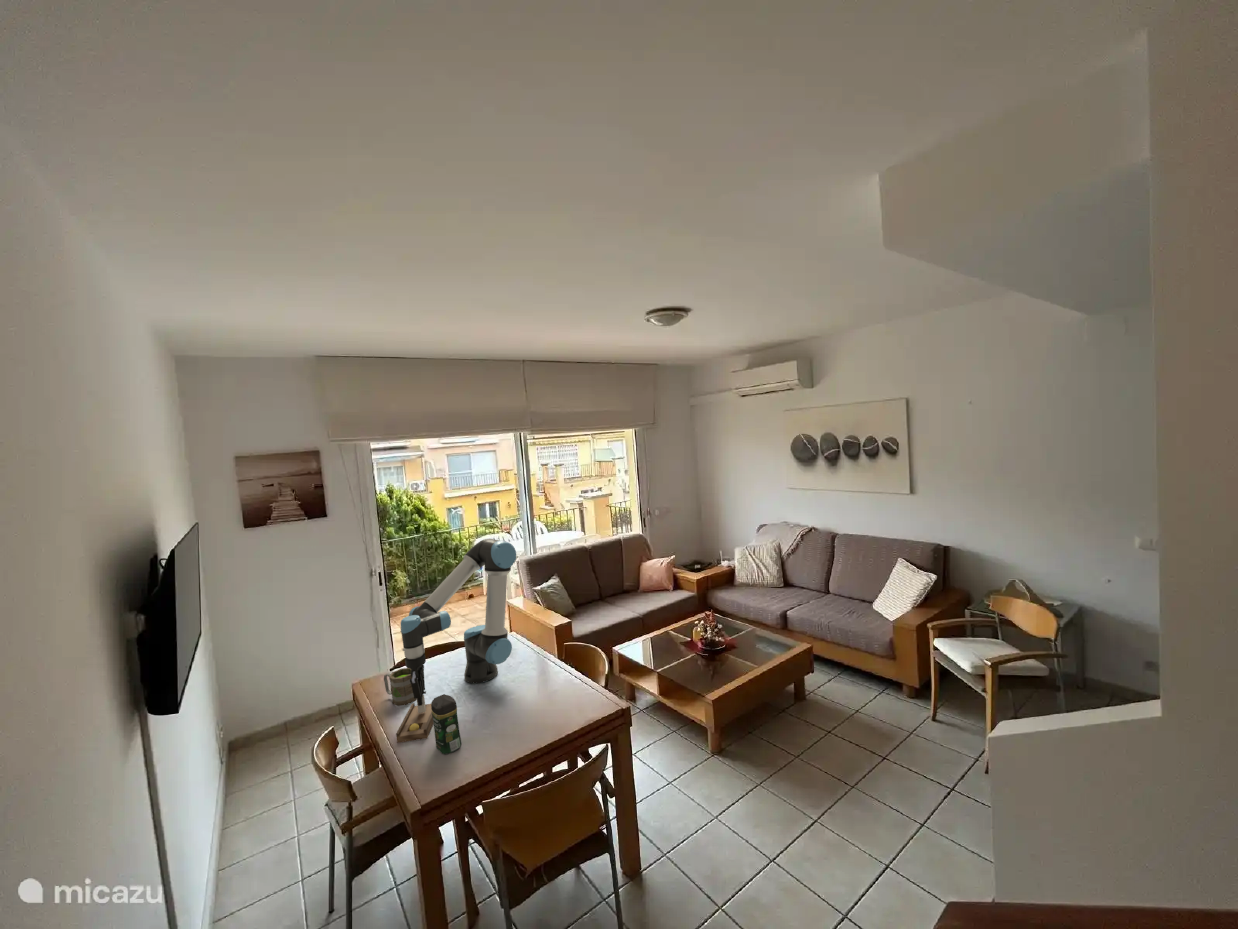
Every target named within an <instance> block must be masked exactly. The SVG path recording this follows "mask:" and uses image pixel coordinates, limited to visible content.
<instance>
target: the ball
mask: <svg viewBox="0 0 1238 929" xmlns="http://www.w3.org/2000/svg"><path fill="white" fill-rule="evenodd" d="M416 730H420V729H419V725H418V724H416V723H414V724H412V725H411V726H410V728H409V731H416Z"/></svg>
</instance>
